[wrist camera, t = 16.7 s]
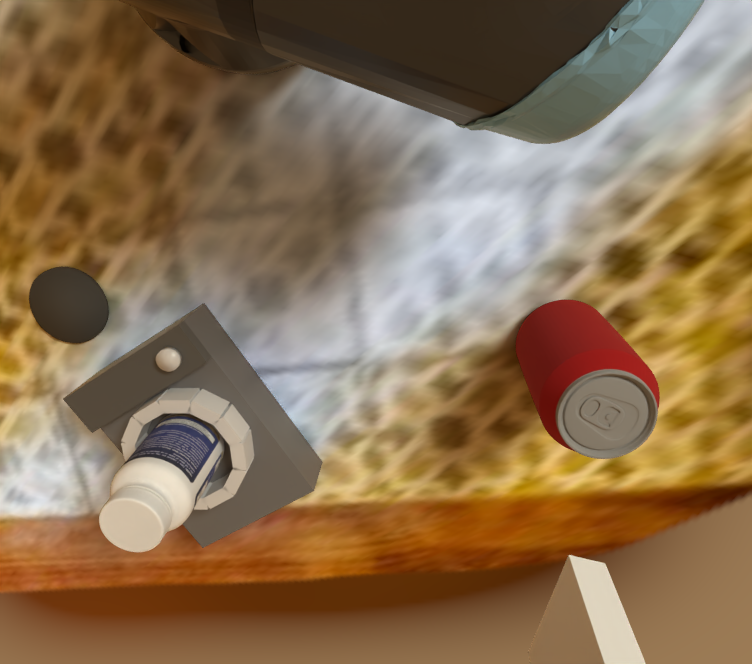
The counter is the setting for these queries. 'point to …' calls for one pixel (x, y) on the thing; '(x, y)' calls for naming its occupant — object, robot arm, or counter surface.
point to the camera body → (212, 404)
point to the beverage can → (586, 380)
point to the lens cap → (69, 304)
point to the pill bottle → (161, 482)
